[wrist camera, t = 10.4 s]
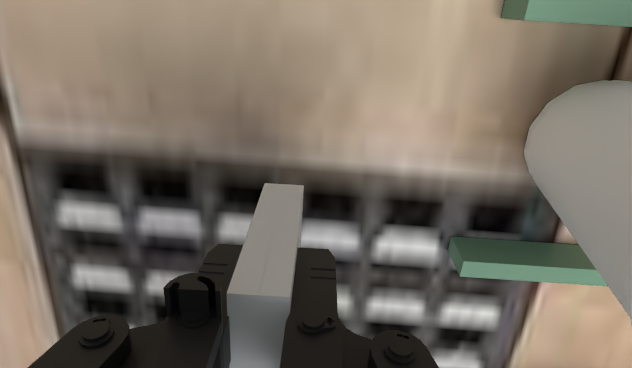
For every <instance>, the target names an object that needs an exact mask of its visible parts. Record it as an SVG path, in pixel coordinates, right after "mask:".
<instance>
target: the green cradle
mask: <svg viewBox="0 0 632 368" xmlns="http://www.w3.org/2000/svg"><path fill="white" fill-rule="evenodd" d="M501 18H506V19H516V20H528V21H545V22H561V23H577V24H593V25H610V26H626V27H632V0H505V2H504V6H503V11H502V15H501ZM448 252H449V254H450V257H451V259H452V261H453V263H454V265H455V267H456V269H457V272H458V274H459V276H461V277H476V278H491V279H506V280H521V281H536V282H551V283H566V284H581V285H596V286H608V285H607V284H606V282H605V281H604V280H603V278H602V277H601V275H600V274H599V272H598V271H597V270H596V268H595V267H594V265H593V264H592V263H591V261H590V260H589V258H588V257H587V255H586V254H585V253H584V251H583V250H582V248H581V247H580V246H579V245H573V244H558V243H543V242H527V241H512V240H497V239H482V238H466V237H451V238H450V243H449V247H448Z"/></svg>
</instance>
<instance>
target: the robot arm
mask: <svg viewBox="0 0 632 368" xmlns="http://www.w3.org/2000/svg"><path fill="white" fill-rule="evenodd" d="M303 189H304V185H288V184H271V183H265V184H264V187H263V190H262V193H261V196H260V198H259V201H258V204H257V207H256V210H255V213H254V216H253V219H252V221H251V224H250V227H249V230H248V233H247V236H246V239H245V242H244V245H228V244H218V245H217V246H216V247H215V248H213V249H212V250H211V251H210V252H208V254H207V256H206V258H205V260H204V262H203V265H202V267H201V269H200V271H199V273H189V274H185V275H182V276H178V277H177V278H175V279H173V280H171V281H170V282H169V283H168V284H167V285H166V286H165V287H164V296H165V304H166V313H167V317H166V319H165V321H162V322H160V323H157V324H153V325H149V326H143V327H138V328H132V329H129V325H128V323H127V322H126V320H125V319H123V318H121V317H119V316H113V315H104V316H98V317H94V318H91V319H89V320H86V321H83V322H82V323H80V324H79V325H77V326H76V327H74V328H73V329H72V330H70V331H69V332H68V333H67V334H66V335H65V336H64V337H62V338H61V339H60V340H59V341H58V342H57V343H55V344H54V345H53V346H52V347H51V348H50V349H49V350H47V351H46V352H45V353H44V354H43V355H42V356H41V357H39V358H38V359H37V360H36V361H35V362H34V363H33V364H31V365H30V366H29V367H28V368H439V367H438V365H437V364H436V362H435V361H434V359H433V357H432V356H431V354H430V352H429V351H428V349H427V347H426V346H425V345H424V344H423V343H422V342H421V341H420V340H419V339H418V338H416V337H415V336H413V335H411V334H409V333H406V332H403V331H399V330H388V331H384V332H381V333H379V334H378V335H377V336H375V337H374V338H373V340H371V339H368V338H365V337H362V336H359V335H357V334H355V333H353V332H351V331H350V330H348V329H347V328H346V327H345V326H344V325H343V324H342V323H341V321H340V319H339V317H338V313H337V291H336V267H335V258H334V256H333V255H332V254H331V252H330V251H329V250H328V249H315V248H301V231H302V210H303Z"/></svg>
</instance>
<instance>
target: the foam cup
mask: <svg viewBox="0 0 632 368" xmlns="http://www.w3.org/2000/svg"><path fill="white" fill-rule="evenodd" d="M524 156H525V159H526V163H527V167H528V171H529V174H530V175H531V176H532V177H533V180H534V182H535V183H536V185H537V186H538V188H539V189H540V190H541V192H542V193H543V195H544V196H545V197H546V199H547V200H548V202H549V203H550V205H551V206H552V207H553V209H554V210H555V212H556V213H557V214H558V216H559V217H560V219H561V220H562V221H563V223H564V224H565V226H566V227H567V229H568V230H569V231H570V233H571V234H572V236H573V237H574V238H575V240H576V241H577V243H578V244H579V246H580V247H581V248H582V250H583V251H584V253H585V254H586V255H587V257H588V258H589V260H590V261H591V263H592V264H593V265H594V267H595V268H596V270H597V271H598V272H599V274H600V275H601V277H602V278H603V280H604V281H605V282H606V284H607V285H608V287H609V288H610V289H611V291H612V292H613V294H614V295H615V296H616V298H617V299H618V301H619V302H620V304H621V305H622V306H623V308H624V309H625V311H626V312H627V313H628V315H629V316H630V319H631V325H632V81H620V80H611V81H608V80H601V81H596V82H590V83H585V84H580V85H575V86H573V87H572V88H570V89H569V90H567V91H565V92H564V93H562V94H561V95H559V96H558V97H556V98H554V99H553V100H551V101H550V102H548V103H547V104H546V106H545V107H544V108H543V110H542V111H541V112H540V114H539V115H538V116H537V118H536V119H535V120H534V122H533V123H532V124H531V126H530V127H529V132H528V136H527V140H526V144H525V148H524Z"/></svg>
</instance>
